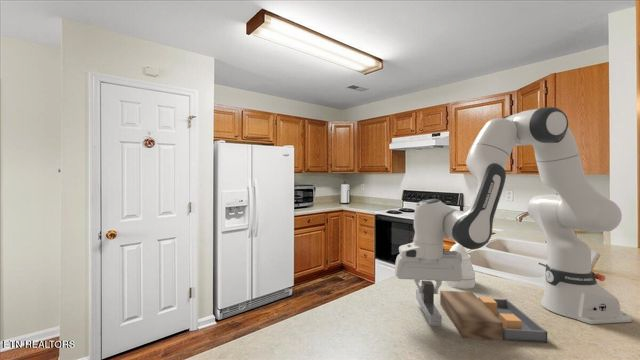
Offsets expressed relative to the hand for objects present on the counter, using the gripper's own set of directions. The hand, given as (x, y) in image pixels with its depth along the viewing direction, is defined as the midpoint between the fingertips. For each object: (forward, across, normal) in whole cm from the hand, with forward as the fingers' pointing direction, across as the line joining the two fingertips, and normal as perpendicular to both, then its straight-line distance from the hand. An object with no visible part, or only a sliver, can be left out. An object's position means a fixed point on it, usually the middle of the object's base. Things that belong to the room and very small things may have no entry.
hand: (427, 292), depth 89 cm
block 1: (+6, -19, -5) cm, 20 cm away
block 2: (+6, -20, +6) cm, 21 cm away
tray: (+8, -23, 0) cm, 25 cm away
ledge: (+8, -12, 0) cm, 15 cm away
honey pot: (+8, -21, -32) cm, 39 cm away
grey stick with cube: (+6, 0, 0) cm, 6 cm away
